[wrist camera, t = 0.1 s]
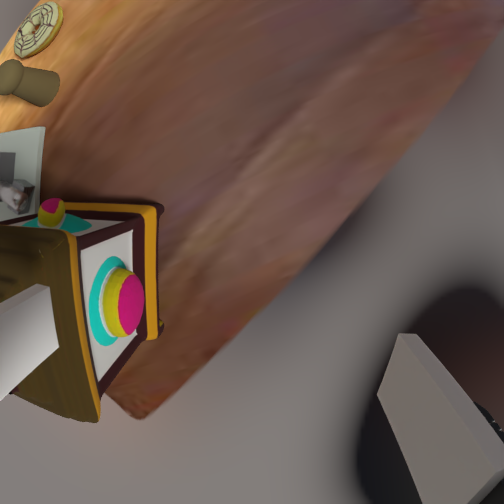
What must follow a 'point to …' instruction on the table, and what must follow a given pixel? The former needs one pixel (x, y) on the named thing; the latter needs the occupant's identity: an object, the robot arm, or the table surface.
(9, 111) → the table surface
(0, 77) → the cork
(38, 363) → the robot arm
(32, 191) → the shaft
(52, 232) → the decorative lantern
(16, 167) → the rig
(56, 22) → the decorated donut
